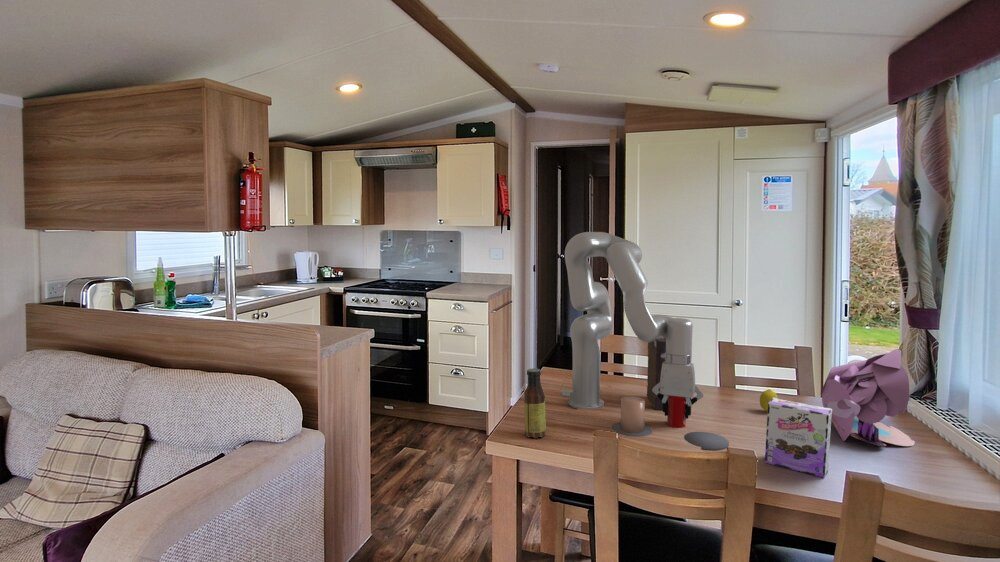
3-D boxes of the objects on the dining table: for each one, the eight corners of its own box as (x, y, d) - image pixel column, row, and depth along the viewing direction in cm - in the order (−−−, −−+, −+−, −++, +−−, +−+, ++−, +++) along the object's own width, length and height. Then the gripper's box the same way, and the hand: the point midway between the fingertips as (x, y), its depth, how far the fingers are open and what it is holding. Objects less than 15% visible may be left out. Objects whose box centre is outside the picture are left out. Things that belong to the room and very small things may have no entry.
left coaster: (608, 434, 158) (608, 432, 158) (616, 421, 169) (616, 419, 169) (649, 441, 153) (649, 439, 153) (655, 426, 164) (655, 424, 164)
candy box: (763, 463, 139) (766, 402, 137) (769, 455, 143) (772, 396, 142) (824, 478, 130) (828, 413, 128) (828, 470, 135) (832, 407, 133)
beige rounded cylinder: (618, 431, 159) (618, 402, 158) (622, 423, 166) (623, 395, 165) (642, 434, 156) (642, 405, 156) (645, 426, 163) (646, 398, 162)
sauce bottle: (550, 435, 158) (550, 370, 156) (536, 441, 153) (536, 374, 151) (533, 429, 162) (533, 366, 160) (519, 435, 158) (519, 369, 156)
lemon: (780, 416, 173) (781, 392, 173) (761, 415, 174) (762, 391, 174) (774, 410, 179) (776, 387, 178) (757, 409, 180) (758, 386, 179)
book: (670, 413, 176) (672, 339, 174) (648, 411, 178) (650, 338, 175) (666, 397, 192) (668, 330, 190) (645, 396, 194) (647, 329, 191)
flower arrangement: (935, 478, 141) (976, 381, 134) (839, 453, 145) (874, 358, 139) (876, 419, 174) (906, 339, 167) (800, 400, 179) (826, 322, 172)
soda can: (686, 430, 161) (688, 392, 160) (668, 429, 162) (669, 390, 161) (684, 423, 167) (685, 386, 165) (666, 422, 168) (667, 385, 167)
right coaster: (682, 446, 150) (682, 444, 150) (685, 431, 161) (685, 429, 161) (728, 453, 145) (728, 451, 145) (728, 437, 156) (728, 435, 156)
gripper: (647, 358, 162) (646, 416, 164) (707, 364, 156) (705, 424, 157) (651, 353, 169) (649, 408, 171) (708, 358, 162) (706, 415, 164)
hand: (676, 415), depth 164 cm, fingers closed on soda can, 5 cm apart
